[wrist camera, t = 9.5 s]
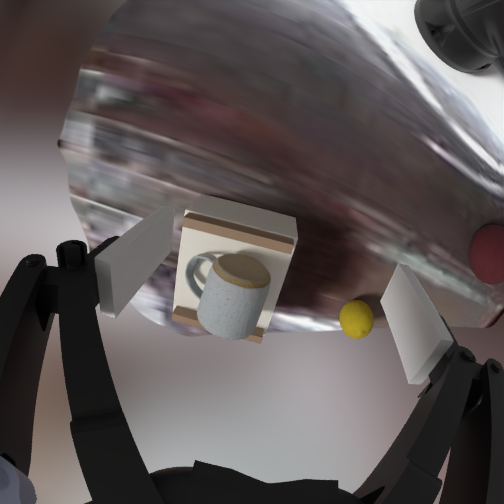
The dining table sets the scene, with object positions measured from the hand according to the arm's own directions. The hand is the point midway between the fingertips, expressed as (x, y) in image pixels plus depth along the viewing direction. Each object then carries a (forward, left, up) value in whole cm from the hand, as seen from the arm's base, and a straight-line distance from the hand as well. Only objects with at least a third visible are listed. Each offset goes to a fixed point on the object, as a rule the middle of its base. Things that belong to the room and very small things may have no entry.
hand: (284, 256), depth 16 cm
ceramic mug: (+4, +13, -18) cm, 23 cm away
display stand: (+4, +13, -26) cm, 29 cm away
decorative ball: (-37, -1, -26) cm, 45 cm away
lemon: (-17, +17, -26) cm, 36 cm away
